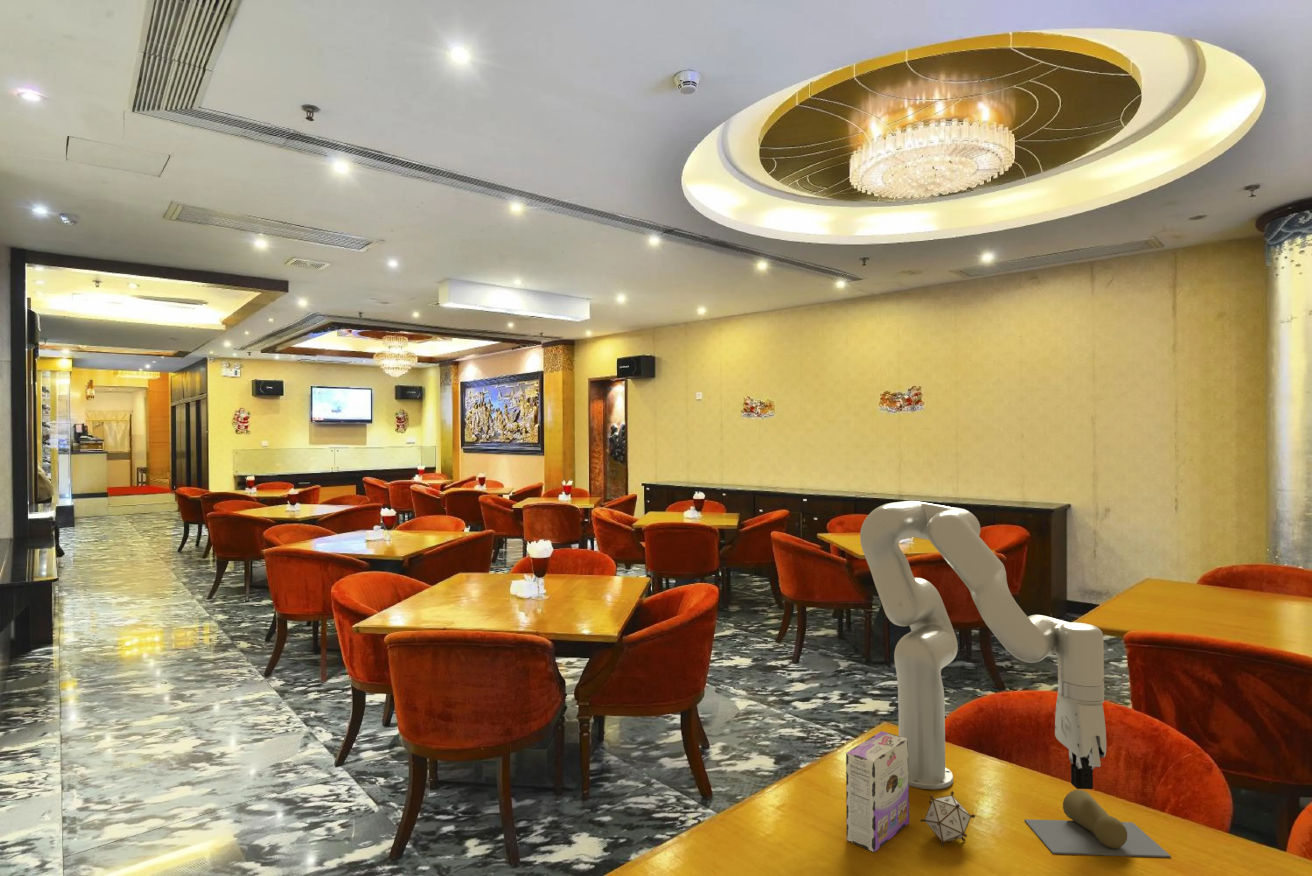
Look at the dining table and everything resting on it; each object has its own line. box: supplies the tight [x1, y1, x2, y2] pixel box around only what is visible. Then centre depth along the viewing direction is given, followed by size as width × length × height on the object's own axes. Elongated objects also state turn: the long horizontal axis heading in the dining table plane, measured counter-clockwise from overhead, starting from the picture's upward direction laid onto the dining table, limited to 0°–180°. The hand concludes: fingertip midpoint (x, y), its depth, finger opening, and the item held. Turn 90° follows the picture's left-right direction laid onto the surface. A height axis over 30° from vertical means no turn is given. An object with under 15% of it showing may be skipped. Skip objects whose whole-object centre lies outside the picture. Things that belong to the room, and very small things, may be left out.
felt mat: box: [1024, 818, 1172, 858], centre depth 130 cm, size 20×11×1 cm, turn 86°
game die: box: [919, 790, 976, 848], centre depth 130 cm, size 9×8×10 cm
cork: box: [1062, 789, 1127, 848], centre depth 130 cm, size 6×6×11 cm
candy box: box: [845, 730, 910, 853], centre depth 132 cm, size 14×6×16 cm, turn 135°
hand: (1082, 786), depth 134 cm, fingers closed
